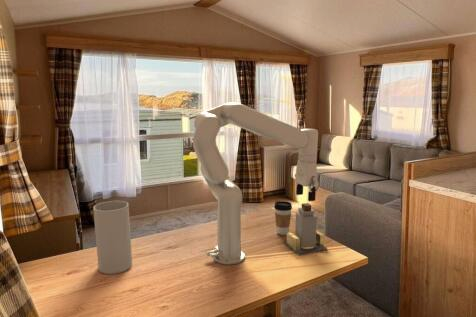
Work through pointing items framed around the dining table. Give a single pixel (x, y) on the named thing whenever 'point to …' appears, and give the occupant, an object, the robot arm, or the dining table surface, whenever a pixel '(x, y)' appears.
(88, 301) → the dining table surface
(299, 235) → the perfume bottle
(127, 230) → the cylinder vase
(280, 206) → the coffee cup
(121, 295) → the dining table surface
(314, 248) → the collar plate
